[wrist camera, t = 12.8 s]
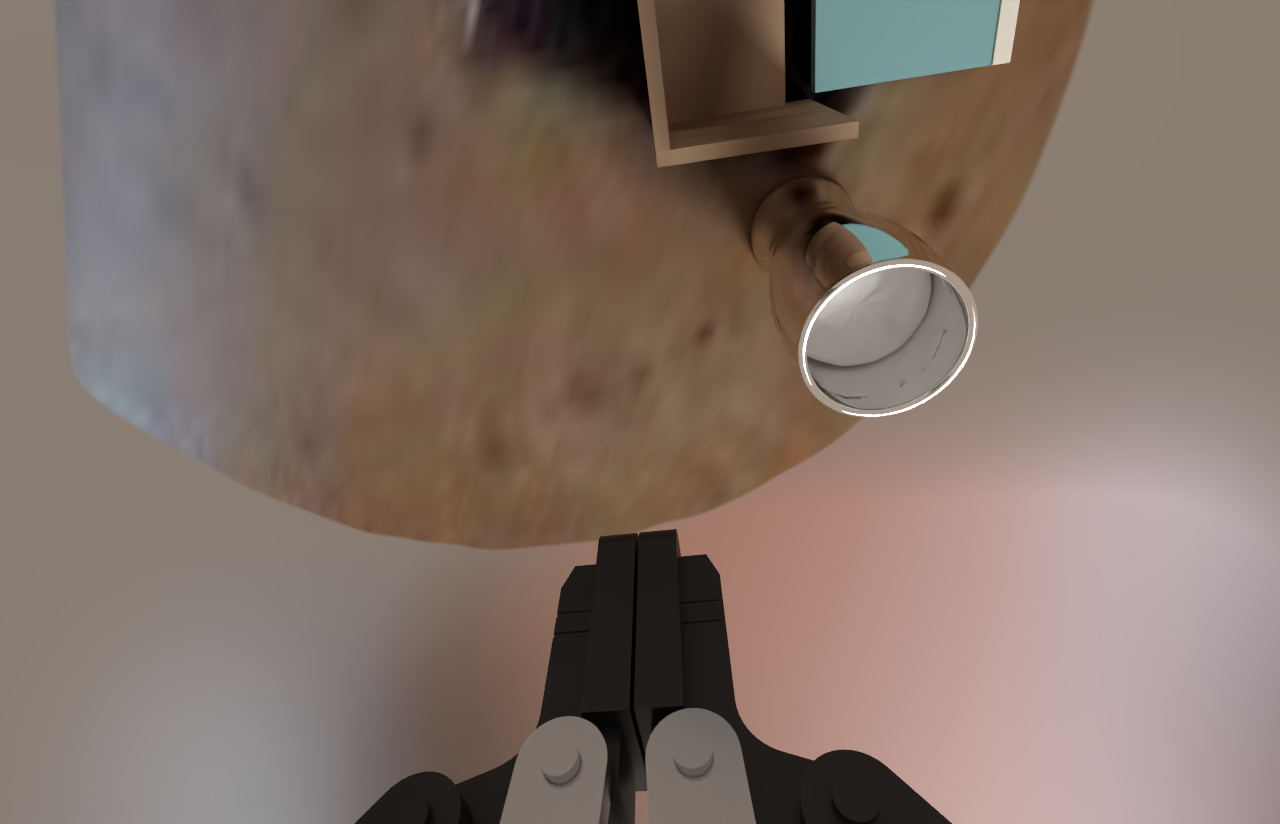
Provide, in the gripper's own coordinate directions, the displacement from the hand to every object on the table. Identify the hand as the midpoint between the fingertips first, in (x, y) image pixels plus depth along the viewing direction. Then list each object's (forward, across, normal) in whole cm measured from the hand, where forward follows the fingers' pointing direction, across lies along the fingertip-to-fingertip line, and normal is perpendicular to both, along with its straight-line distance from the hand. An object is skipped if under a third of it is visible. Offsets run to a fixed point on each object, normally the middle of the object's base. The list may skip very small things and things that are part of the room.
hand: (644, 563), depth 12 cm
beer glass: (+27, -9, +2) cm, 29 cm away
